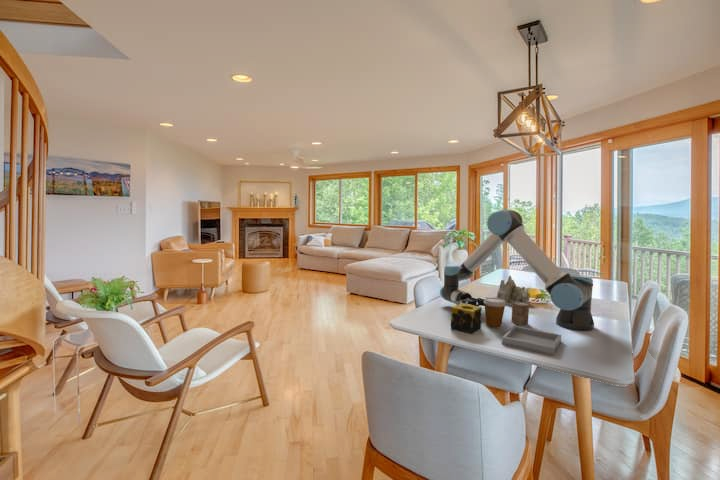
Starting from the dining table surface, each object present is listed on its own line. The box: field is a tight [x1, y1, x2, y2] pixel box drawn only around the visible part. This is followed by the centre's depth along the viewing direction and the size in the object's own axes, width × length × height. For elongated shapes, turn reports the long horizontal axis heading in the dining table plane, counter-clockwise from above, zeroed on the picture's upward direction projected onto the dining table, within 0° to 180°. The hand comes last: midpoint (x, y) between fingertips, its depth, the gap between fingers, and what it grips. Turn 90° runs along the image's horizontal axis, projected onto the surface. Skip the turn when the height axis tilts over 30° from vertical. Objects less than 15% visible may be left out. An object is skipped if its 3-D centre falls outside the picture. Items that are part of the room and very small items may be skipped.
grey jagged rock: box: [495, 275, 531, 306], centre depth 208 cm, size 16×16×15 cm
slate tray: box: [501, 325, 562, 357], centre depth 146 cm, size 18×18×3 cm
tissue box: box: [450, 303, 483, 335], centre depth 161 cm, size 10×10×10 cm
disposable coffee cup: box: [484, 296, 506, 329], centre depth 166 cm, size 10×10×12 cm
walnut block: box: [510, 302, 530, 326], centre depth 171 cm, size 5×5×9 cm
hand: (490, 309), depth 168 cm, fingers open, 13 cm apart
